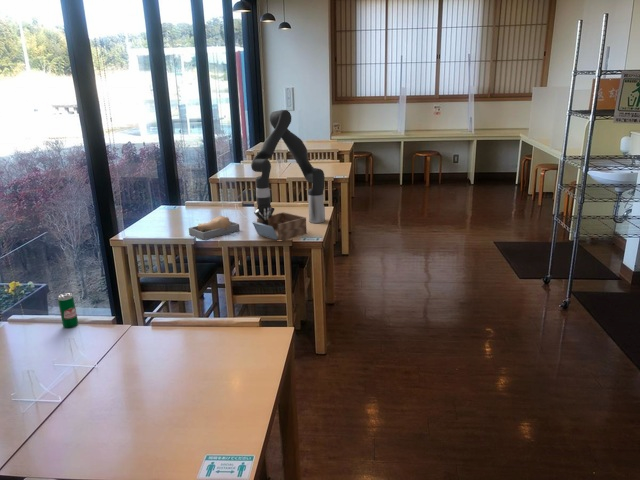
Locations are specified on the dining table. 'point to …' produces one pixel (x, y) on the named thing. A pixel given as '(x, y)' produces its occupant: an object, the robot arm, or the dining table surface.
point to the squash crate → (213, 231)
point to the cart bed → (287, 225)
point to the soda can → (67, 310)
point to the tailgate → (265, 230)
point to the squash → (215, 224)
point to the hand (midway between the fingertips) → (265, 226)
